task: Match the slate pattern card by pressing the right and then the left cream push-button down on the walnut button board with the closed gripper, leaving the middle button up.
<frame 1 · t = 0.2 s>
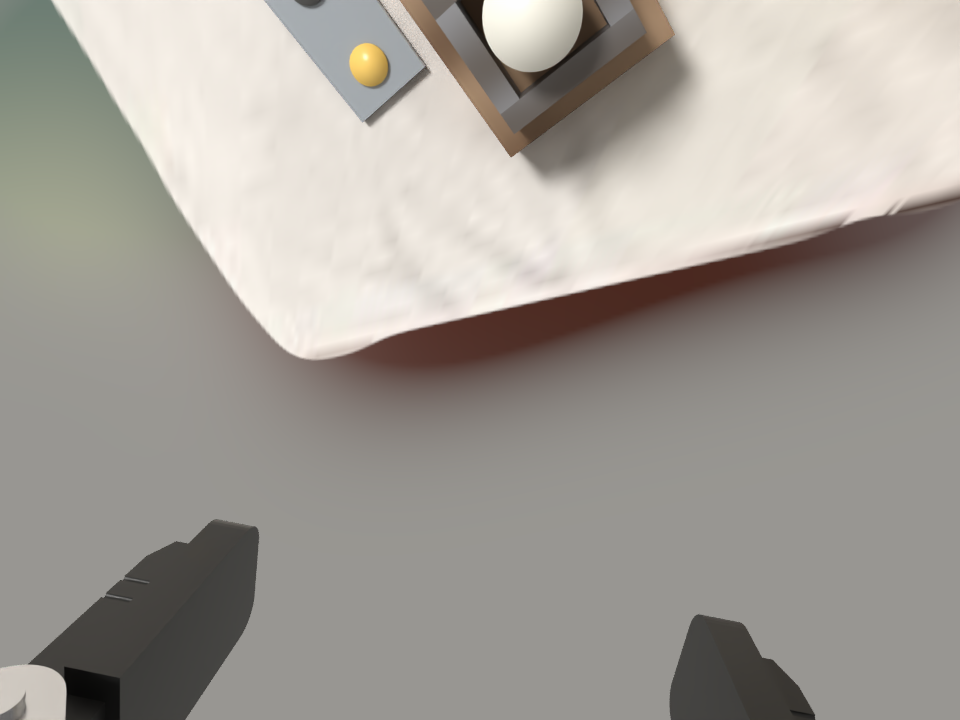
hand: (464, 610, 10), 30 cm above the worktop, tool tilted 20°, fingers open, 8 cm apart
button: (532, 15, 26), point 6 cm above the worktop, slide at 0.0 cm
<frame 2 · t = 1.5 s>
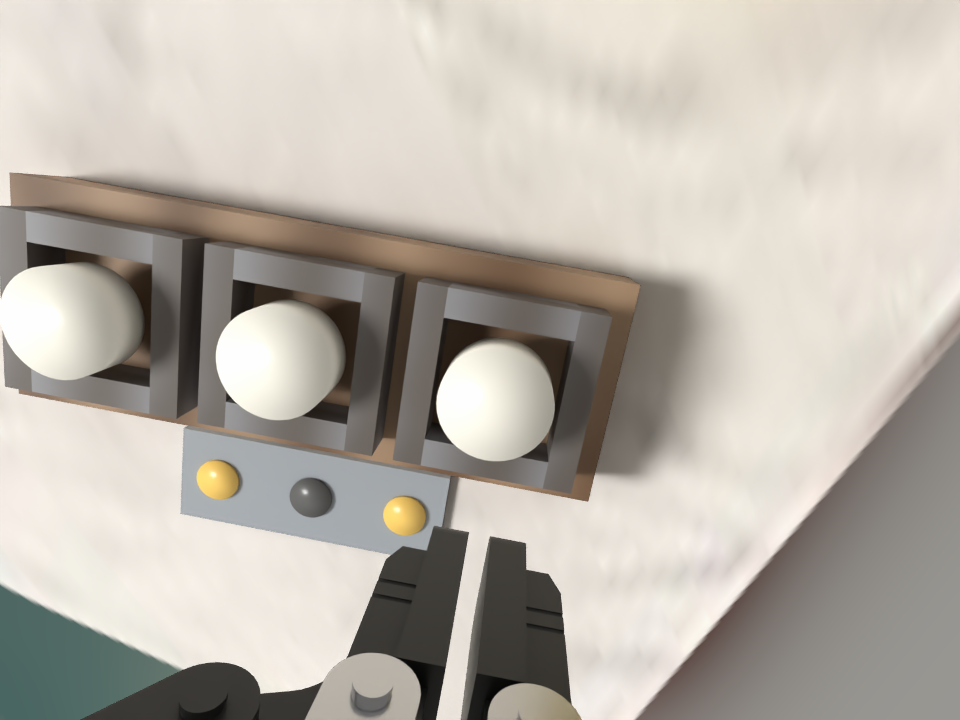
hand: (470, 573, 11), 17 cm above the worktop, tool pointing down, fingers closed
button board: (331, 329, 28), on the worktop
pattern card: (314, 493, 30), on the worktop
button middle: (283, 358, 23), point 6 cm above the worktop, slide at 0.0 cm
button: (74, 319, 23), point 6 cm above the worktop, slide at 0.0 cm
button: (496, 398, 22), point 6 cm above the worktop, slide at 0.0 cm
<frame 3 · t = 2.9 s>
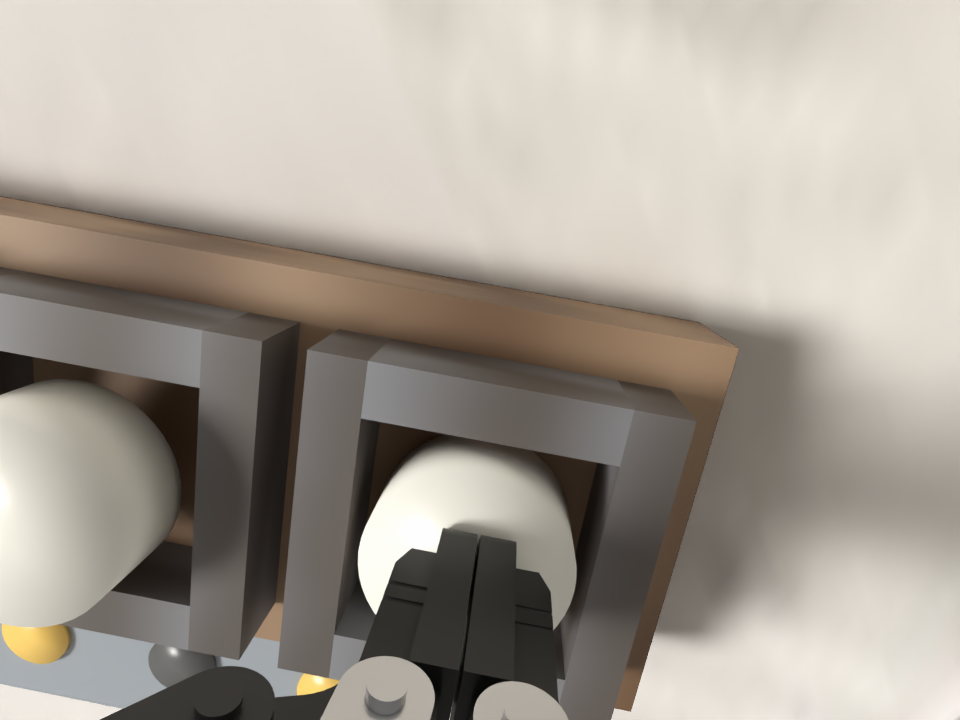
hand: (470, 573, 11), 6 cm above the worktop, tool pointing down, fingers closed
button board: (202, 403, 17), on the worktop
pattern card: (190, 652, 19), on the worktop
button middle: (45, 498, 11), point 6 cm above the worktop, slide at 0.0 cm
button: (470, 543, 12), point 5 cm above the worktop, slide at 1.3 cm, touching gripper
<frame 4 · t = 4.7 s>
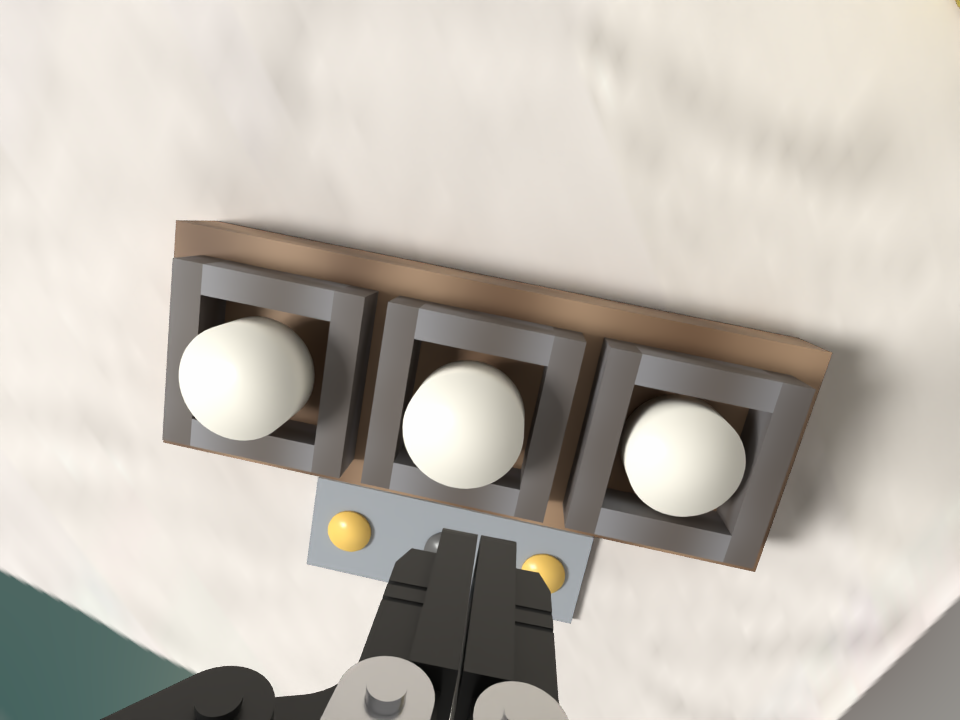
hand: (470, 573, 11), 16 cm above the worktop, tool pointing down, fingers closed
button board: (479, 381, 27), on the worktop
pattern card: (446, 547, 29), on the worktop
button middle: (465, 423, 22), point 6 cm above the worktop, slide at 0.0 cm
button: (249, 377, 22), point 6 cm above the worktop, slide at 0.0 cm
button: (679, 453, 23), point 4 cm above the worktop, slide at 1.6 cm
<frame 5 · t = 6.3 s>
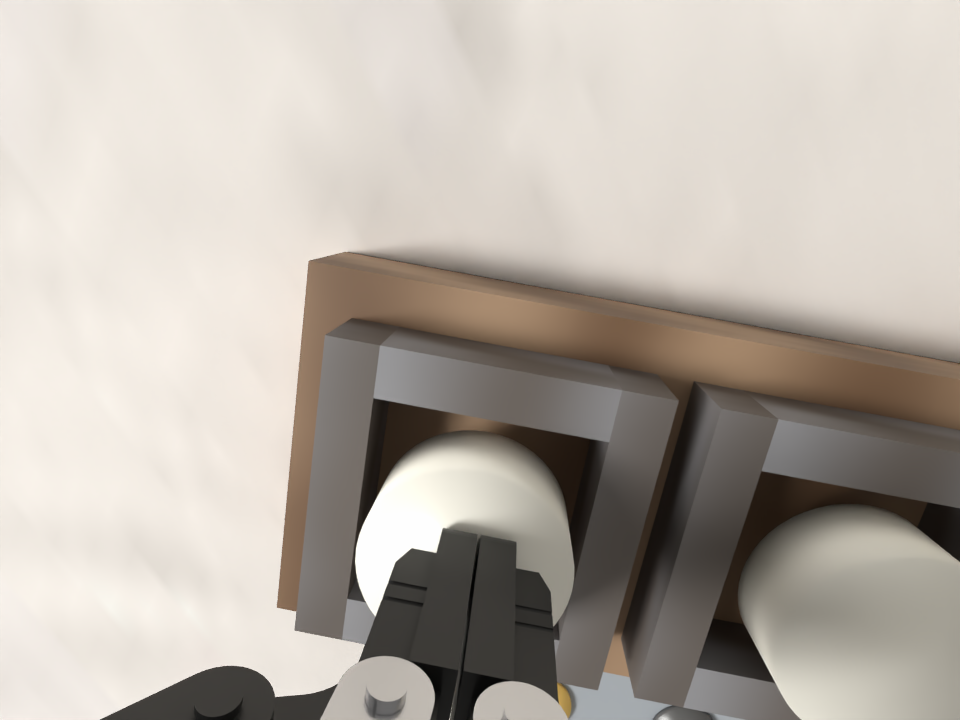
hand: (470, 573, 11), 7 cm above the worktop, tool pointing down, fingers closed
button board: (755, 491, 18), on the worktop
button middle: (862, 621, 12), point 6 cm above the worktop, slide at 0.0 cm
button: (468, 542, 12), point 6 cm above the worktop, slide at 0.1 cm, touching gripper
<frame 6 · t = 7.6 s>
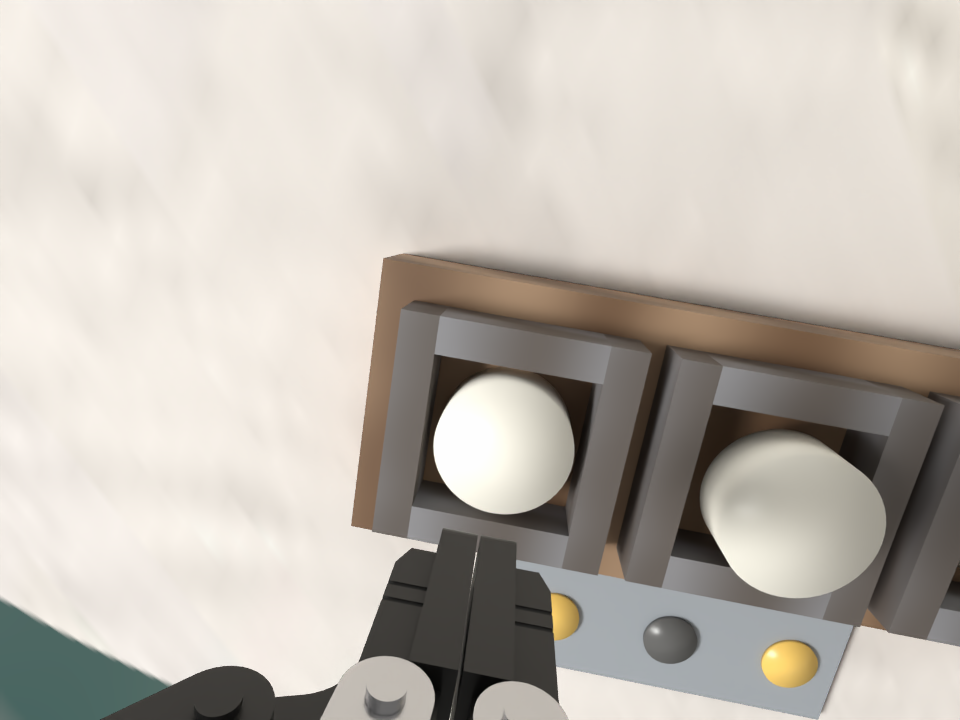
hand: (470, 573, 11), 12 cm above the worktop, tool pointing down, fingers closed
button board: (722, 439, 23), on the worktop
pattern card: (667, 631, 25), on the worktop
button middle: (786, 511, 17), point 6 cm above the worktop, slide at 0.0 cm
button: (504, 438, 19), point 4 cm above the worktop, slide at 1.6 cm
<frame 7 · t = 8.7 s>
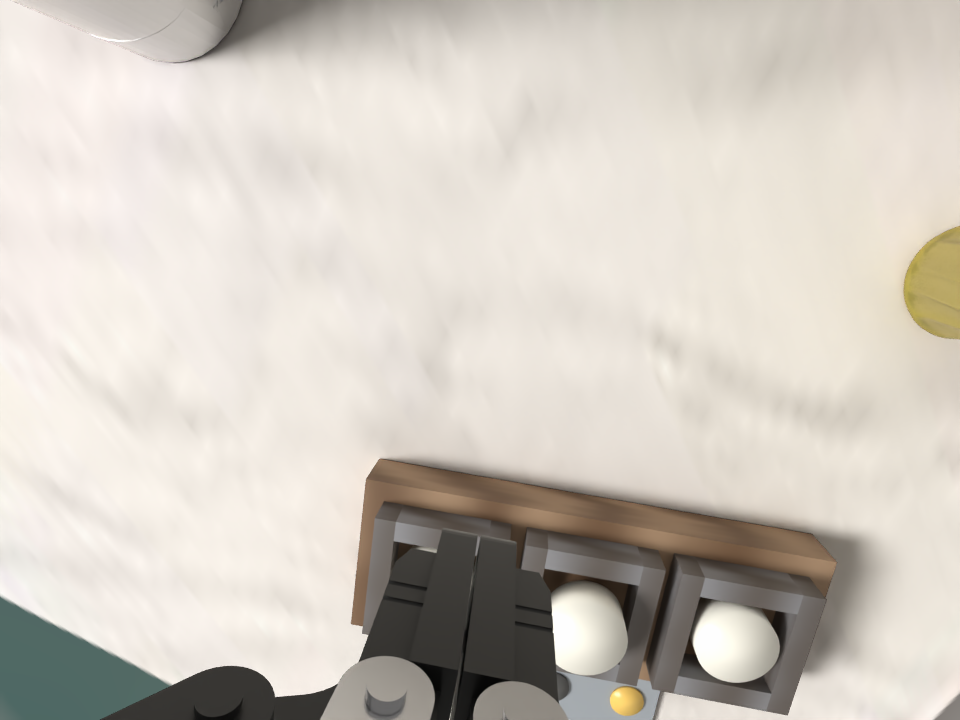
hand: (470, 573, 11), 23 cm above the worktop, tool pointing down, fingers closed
button board: (576, 565, 37), on the worktop
pattern card: (552, 680, 39), on the worktop
vase: (959, 281, 31), on the worktop
button middle: (583, 627, 31), point 6 cm above the worktop, slide at 0.0 cm
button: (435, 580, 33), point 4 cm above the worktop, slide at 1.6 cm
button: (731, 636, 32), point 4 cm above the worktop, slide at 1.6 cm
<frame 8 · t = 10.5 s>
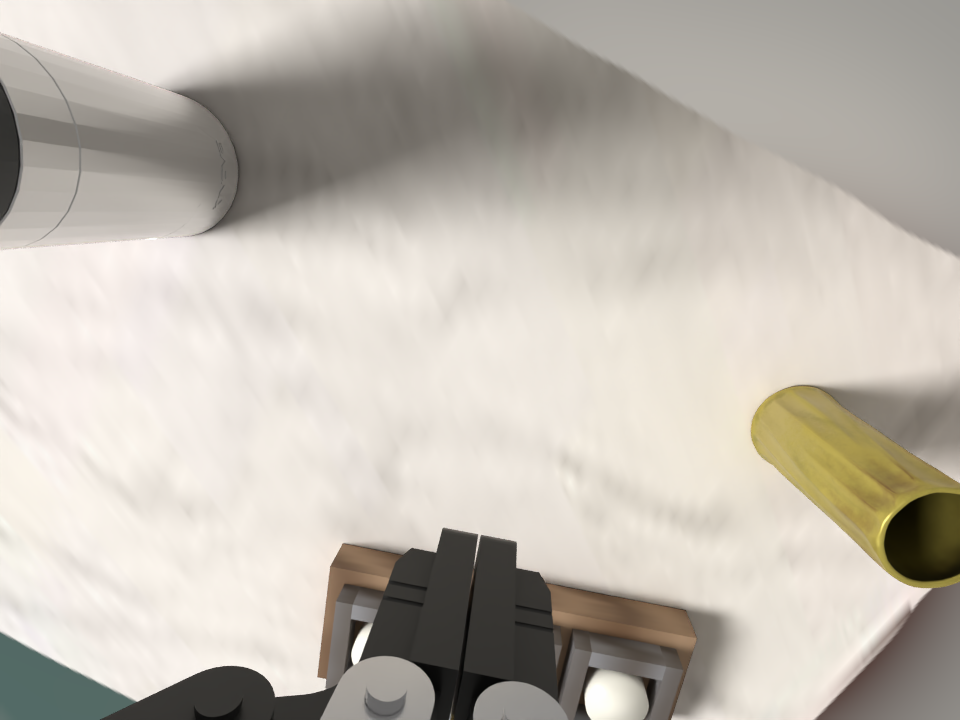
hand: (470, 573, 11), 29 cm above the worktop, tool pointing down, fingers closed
button board: (501, 630, 46), on the worktop
vase: (794, 425, 40), on the worktop
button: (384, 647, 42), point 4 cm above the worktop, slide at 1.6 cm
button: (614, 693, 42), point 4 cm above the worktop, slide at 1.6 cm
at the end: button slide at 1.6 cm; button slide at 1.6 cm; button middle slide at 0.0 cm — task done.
